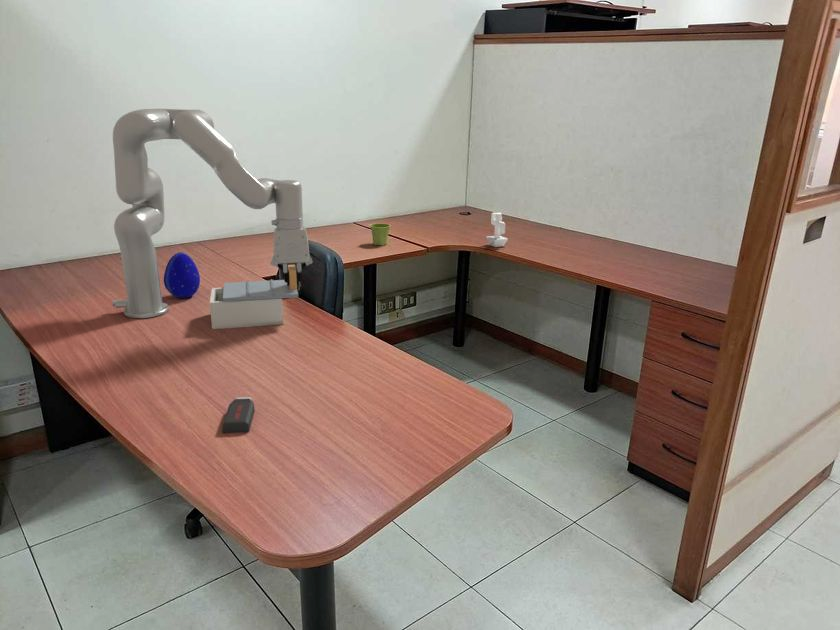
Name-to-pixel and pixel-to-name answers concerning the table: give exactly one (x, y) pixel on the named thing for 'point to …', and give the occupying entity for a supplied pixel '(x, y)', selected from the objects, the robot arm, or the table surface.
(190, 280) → the ornament
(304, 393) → the table surface
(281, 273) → the supplement bottle
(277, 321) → the box
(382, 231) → the plant pot
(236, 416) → the usb drive
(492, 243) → the figurine
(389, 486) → the table surface
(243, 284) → the tub lid
